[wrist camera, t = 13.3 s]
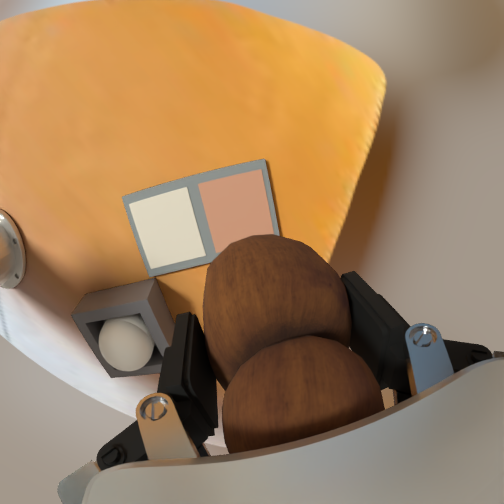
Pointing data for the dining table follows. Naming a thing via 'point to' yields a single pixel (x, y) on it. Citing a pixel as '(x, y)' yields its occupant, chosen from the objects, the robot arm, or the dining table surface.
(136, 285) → the dome housing
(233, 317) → the wooden figurine
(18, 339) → the dining table surface
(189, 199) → the grey flat tray
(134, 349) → the dome
